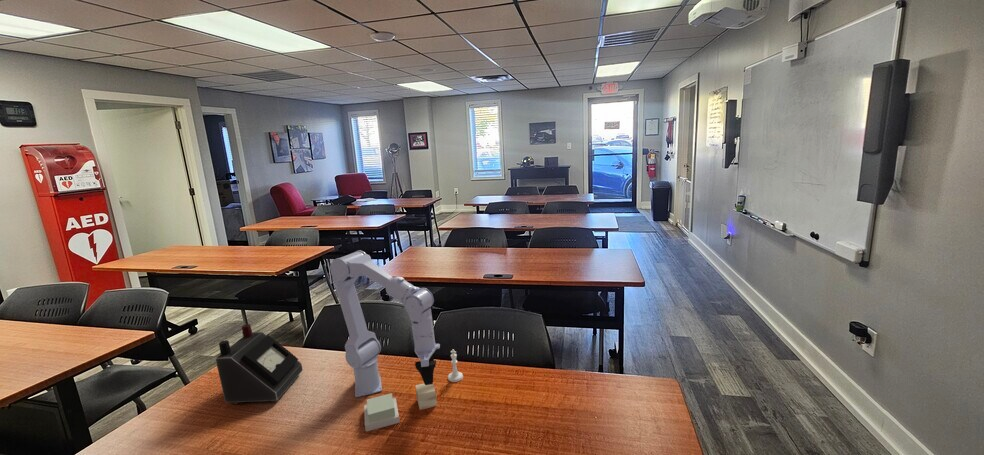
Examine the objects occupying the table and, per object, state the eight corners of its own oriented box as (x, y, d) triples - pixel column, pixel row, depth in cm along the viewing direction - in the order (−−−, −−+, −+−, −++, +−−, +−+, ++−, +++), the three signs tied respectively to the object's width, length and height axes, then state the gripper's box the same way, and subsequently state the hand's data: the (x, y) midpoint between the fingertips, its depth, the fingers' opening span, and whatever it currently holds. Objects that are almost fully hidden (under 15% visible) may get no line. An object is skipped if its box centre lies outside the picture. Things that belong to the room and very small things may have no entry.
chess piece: (460, 382, 127) (458, 354, 125) (446, 381, 128) (443, 353, 126) (464, 373, 132) (462, 346, 130) (450, 372, 133) (448, 345, 131)
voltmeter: (279, 404, 122) (267, 344, 118) (226, 406, 122) (212, 346, 118) (304, 374, 138) (294, 320, 133) (257, 375, 138) (246, 322, 134)
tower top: (367, 407, 115) (366, 399, 115) (392, 400, 117) (391, 393, 117) (369, 422, 109) (368, 414, 108) (395, 415, 111) (394, 407, 110)
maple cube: (417, 400, 120) (415, 385, 119) (433, 396, 122) (432, 381, 121) (419, 410, 115) (418, 395, 114) (436, 405, 117) (435, 390, 116)
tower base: (365, 413, 116) (363, 405, 116) (396, 405, 119) (395, 397, 119) (366, 433, 108) (364, 425, 108) (399, 424, 111) (399, 416, 110)
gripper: (437, 342, 105) (443, 388, 108) (437, 319, 120) (443, 361, 122) (410, 346, 105) (417, 393, 107) (414, 323, 119) (419, 364, 122)
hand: (429, 376), depth 115 cm, fingers open, 7 cm apart
